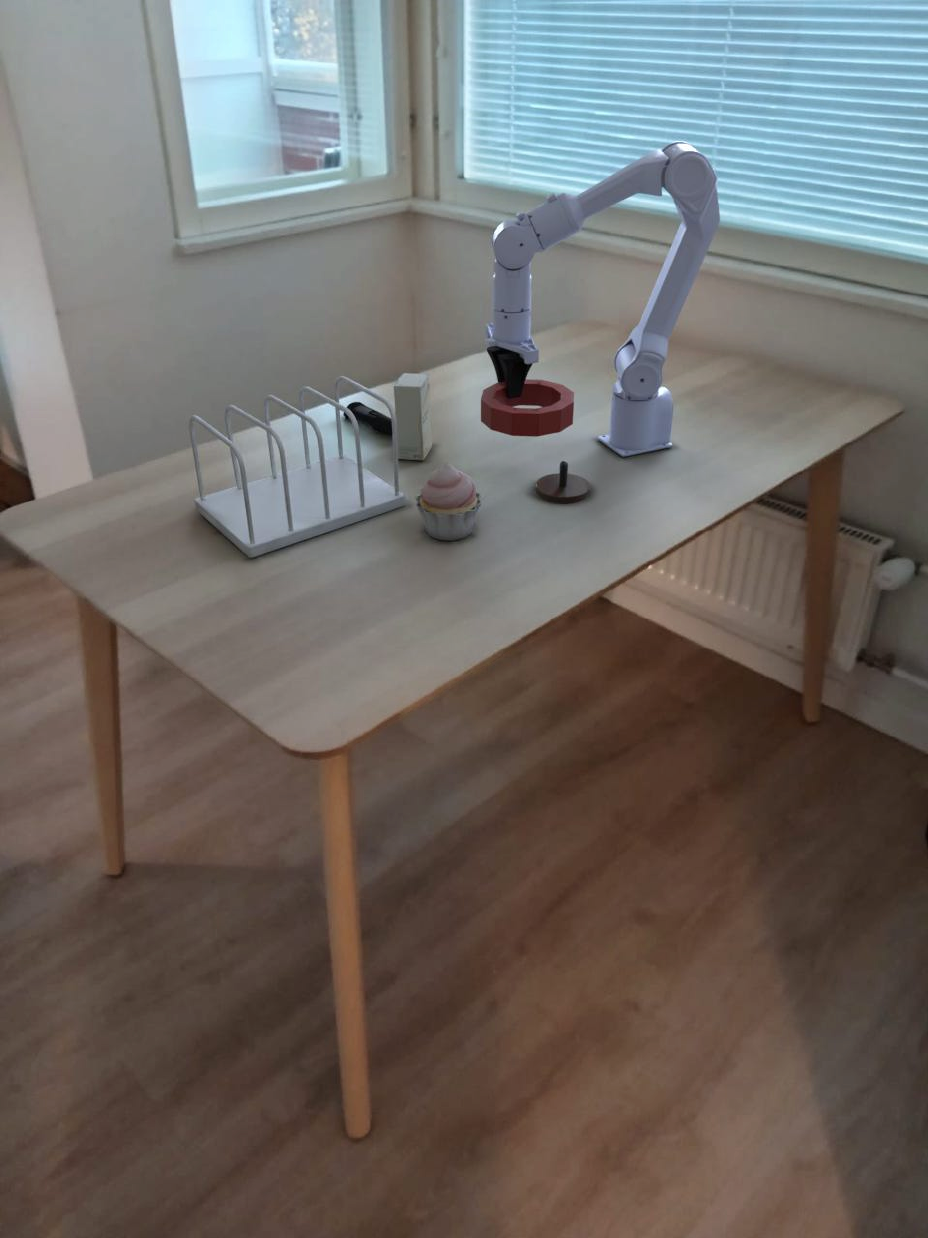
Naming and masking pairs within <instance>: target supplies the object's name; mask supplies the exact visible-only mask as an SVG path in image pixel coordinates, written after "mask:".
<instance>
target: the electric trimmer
mask: <svg viewBox="0 0 928 1238" xmlns="http://www.w3.org/2000/svg"><path fill="white" fill-rule="evenodd" d="M345 407H346V408H348V409H349V410H350V411H351V412H352V413H353V415H354V416H355V418H356V421H357V422H359V423H362V424H364V425H366V426H368V427H371V430H372V431H373V432H376V433H379V434H383V435H386V436H389V437H392V438H393V436H392V420H391V417H389V416H387V415H386V414H384V413H382V412H380V411H377V410H376V409H374V408H371V407H369V406H367V405H366V404H364V403H363V402H361V401H353V402H351V403H349V404H347V406H345ZM343 417H344V419H345V420H351V419H350V418H349V416H348V415H347V414H346V413H345V412H343Z"/></svg>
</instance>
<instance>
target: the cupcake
mask: <svg viewBox="0 0 928 1238" xmlns="http://www.w3.org/2000/svg"><path fill="white" fill-rule="evenodd" d="M481 497H482V493H481V492H477V488H476V486H475V484H474V483H473V480H472V477H470V476H469V474H467V473H465V472H463V471H461V470H457V469H456V468H455V467H454V466H453V465H452V464H450V463H448V462H447V463H446V464H445V465H443V466H442V467H440V468H437V469H436V470H433V471H432V472H431V473H430V474H429V477H428V480H427V481H425V482H424V483H423V485H422V487H421V490H420V494H418V495H416V496H415V497H414V499H415V501H416V503H415V508H416V509H417V511H418V512H419V514H420V516H421V517H422V522H423V524H424V528H425V531H426V533H427V534H428V535H429V536H430V537H431V538H433V539H436V540H439V541H444V542H445V541H446V542H452V541H458V540H462V539H464V538H467V536H469V535H470V534H471V532H472V531H473V527H474V524H475V520H476V517H477V515H478V514H477V513H478V511H479V509H480V508H481V506H482V504H483V500H482V499H481Z"/></svg>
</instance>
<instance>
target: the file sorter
mask: <svg viewBox="0 0 928 1238" xmlns="http://www.w3.org/2000/svg"><path fill="white" fill-rule="evenodd" d="M341 381H342V382H344V383H346V384H347V385H350V386H351V387H354V388H355V389H357V390H359V391H361V392H363V393H365V394H366V395H368V396H370V397H372V398H373V399H376V401H377V400H378V401H379V402H381V403H382V404H383V405H385V406H386V408H387V409H388V412H389V414H390V418H391V420H392V436H393V437H392V436H391V437H392V464H393V468H392V469H393V485H390V484H389V483H387V482H386V481H385V480H383V479H381V478H380V477H378V476H377V475H375V474H374V473H372V471H369V470H368V469H367V468H365V467H363V462H362V460H363V459H362V448H361V436H360V428H359V423H358V421H357V420H356V418H355V416H354V415H353V413H352V412H351V411H350V410H349V409H348V408H346V407H347V406H345V405H343V404H341V403H340V392H339V384H340V382H341ZM305 392H308V393H309V394H311V395H313V396H314V397H316V398H318V399H320V400H322V401H323V402H325V403H327V404H329V405H330V406H332V407H335V408H334V409H335V410H334V411H335V421H336V435H337V436H336V437H337V448H338V449H337V450H338V455H337V456H335V457H331V458H328V459H325V451H324V450H325V449H324V442H323V436H322V433H321V429H320V427H319V426H318V424H317V422H316V421H315V419H313V418H312V417H311V416H309V415H308V414H306V411H305V400H304V397H305ZM333 393H334V394H333V397H334V399H332V398H330V397H328V396H326V395H325V394H323V393H322V392H321V393H320V392H319V391H318V390H316V389H314V388H312V387H310V386H309V385H308V386H307V385H306V386H302V387H301V388H300V390H299V393H298V394H299V395H298V400H299V401H298V402H299V409H297V408H296V407H294V406H292V405H290V404H289V403H287V402H285V401H284V400H282V399H280V398H278V397H276V396H275V395H272V394H269V395H266V396H265V397H264V400H263V415H264V422H262V421H261V420H259V419H258V418H257V417H255V416H253V415H251V414H249V413H248V412H246V411H244V410H242V409H241V408H239V407H237V406H235V405H234V404H229V405H226V407H225V408H224V423H225V429H226V434H227V437H226V436H225V435H223V434H222V433H221V432H219V431H218V430H217V429H216V428H214V427H213V426H212V425H211V424H209V423H208V422H206V421H205V420H204V419H203V418H201V417H200V416H198V415H195V414H194V415H191V416H190V417H189V419H188V429H189V436H190V442H191V449H192V456H193V462H194V467H195V473H196V479H197V485H198V492H199V497H196V498H194V507H195V510H196V511H197V512H198V513H199V514H200V515H202V516H203V518H204V519H206V520H207V521H208V522H209V523H211V525H213V527H215V528H216V529H217V530H218V531H219V532H220V533H221V534H223V535H224V536H225V537H226V538H227V539H228V540H229V541H230V542H232V543H233V544H234V545H235V546H236V547H237V548H238V549H239V550H240V551H241V552H243V554H244V555H245V556H247V557H248V558H250V559H252V558H256V557H259V556H261V555H265V554H268V553H270V552H273V551H276V550H280V549H282V548H285V547H287V546H291V545H293V544H296V543H299V542H302V541H305V540H309V539H311V538H315V537H317V536H320V535H323V534H326V533H329V532H332V531H335V530H338V529H341V528H344V527H346V526H350V525H352V524H355V523H358V522H361V521H363V520H367V519H370V518H373V517H376V516H379V515H382V514H384V513H388V512H390V511H393V510H395V509H398V508H402V507H404V506H406V505H407V500H406V494H404V493H403V492H401V491H400V485H399V483H400V481H399V478H400V477H399V459H398V443H397V419H396V414H395V407H394V406H393V404H392V403H391V402H390V401H389V400H388V399H387V398H386V397H384V396H383V395H381V394H379V393H377V392H375V391H373V390H371V389H369V388H368V387H365V386H364V385H362V384H360V383H358V382H356V381H355V380H352V379H351V378H349V377H347V376H345V375H339V376H338V377H336V378H335V380H334V383H333ZM270 401H272V402H273V403H275V404H277V405H279V406H280V407H281V408H283V409H286V410H287V411H289V412H291V413H292V414H294V415H296V416H297V417H298V418H300V420H301V429H302V439H303V449H304V458H305V465H304V466H300V467H297V468H293V469H290V470H288V468H287V460H286V452H285V448H284V444H283V441H282V439H281V437H280V435H279V434H278V433H277V431H276V430H275V429H274V428H273V427H271V421H270V412H269V411H270V410H269V402H270ZM230 411H232V412H234V413H236V414H237V415H239V416H241V417H242V418H244V419H246V420H248V421H249V422H251V423H253V424H254V425H256V426H257V427H259V428H261V429H262V430H264V431H266V439H267V445H268V446H267V447H268V453H269V462H270V468H271V475H269V476H266V477H263V478H259V479H256V480H252V481H249V482H247V473H246V467H245V463H244V459H243V456H242V454H241V452H240V449H239V448H238V447H237V445H236V444H235V442H234V437H233V433H232V425H231V419H230ZM341 412H343V413H344V412H345V413H346V414H347V415H348V416H349V418H350V419H349V420H350V421H351V424H352V428H353V431H354V442H355V453H356V454H355V456H356V461H354V460H353V459H351V458H349V457H348V456H346V455H344V449H343V435H342V421H341ZM195 422H196V423H198V424H199V425H200V426H201V427H203V428H204V429H206V430H207V431H208V432H209V433H210V434H212V435H213V436H215V437H216V438H218V439H219V440H220V441H222V442H223V444H225V445H227V446H228V447H229V450H230V456H231V457H230V458H231V462H232V467H233V472H234V477H235V479H234V480H235V483H236V486H233V487H230V488H226V489H222V490H219V491H216V492H213V493H210V494H206V495H205V490H204V482H203V476H202V470H201V464H200V458H199V452H198V445H197V439H196V433H195ZM307 423H309V424H310V426H311V427H312V429H313V430H314V433H315V435H316V440H317V447H318V459H319V461H318V462H314V463H311V458H310V449H309V439H308V429H307ZM272 437H273V438H272ZM273 439H274V440H275V442H276V445H277V448H278V452H279V459H280V465H281V472H280V473H277V467H276V462H275V453H274V452H275V451H274V445H273Z"/></svg>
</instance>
